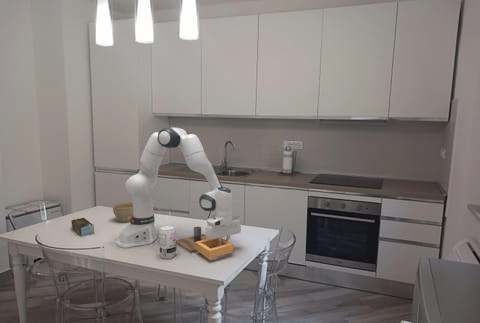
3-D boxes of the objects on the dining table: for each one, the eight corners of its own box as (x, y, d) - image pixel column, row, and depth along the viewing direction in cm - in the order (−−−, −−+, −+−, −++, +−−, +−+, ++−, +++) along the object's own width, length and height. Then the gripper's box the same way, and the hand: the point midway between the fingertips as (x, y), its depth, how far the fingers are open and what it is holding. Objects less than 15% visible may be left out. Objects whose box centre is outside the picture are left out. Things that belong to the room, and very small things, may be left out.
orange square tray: (209, 258, 166) (209, 250, 166) (195, 249, 177) (195, 242, 177) (233, 251, 174) (233, 244, 174) (218, 243, 185) (218, 236, 185)
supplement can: (161, 253, 178) (160, 225, 176) (177, 252, 179) (176, 224, 177) (158, 259, 170) (157, 230, 168) (175, 259, 171) (174, 230, 169)
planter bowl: (116, 217, 240) (115, 202, 239) (140, 216, 242) (139, 201, 241) (110, 224, 224) (109, 208, 223) (135, 223, 226) (135, 207, 225)
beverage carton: (81, 237, 202) (80, 226, 201) (71, 229, 216) (70, 219, 215) (94, 234, 207) (94, 223, 206) (84, 226, 221) (84, 216, 220)
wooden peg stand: (191, 253, 178) (190, 235, 177) (175, 242, 192) (175, 226, 191) (220, 245, 189) (219, 228, 187) (203, 236, 203) (203, 220, 202)
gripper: (236, 214, 186) (236, 238, 188) (203, 220, 174) (203, 246, 176) (243, 216, 181) (243, 242, 183) (210, 223, 169) (210, 250, 171)
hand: (223, 244), depth 179 cm, fingers closed on orange square tray, 2 cm apart
